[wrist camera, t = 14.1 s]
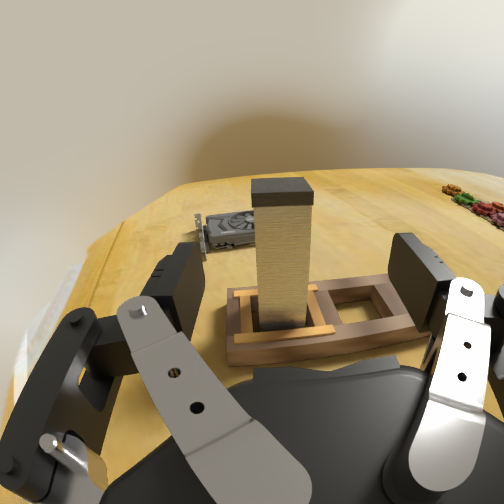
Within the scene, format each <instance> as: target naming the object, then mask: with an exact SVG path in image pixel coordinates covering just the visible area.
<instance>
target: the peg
mask: <svg viewBox="0 0 504 504" xmlns="http://www.w3.org/2000/svg"><path fill="white" fill-rule="evenodd" d="M251 199H252V208H254V227H255V245H256V264H257V283H258V303H259V323H260V332H268V331H279V330H289V329H299V328H305V322H306V309H307V296H308V280H309V263H310V242H311V213H312V205H313V200H314V191H313V190H312V188H311V187H310V186H309V184H308V183H307V181H306V180H305V179H304V177H287V178H260V179H251Z"/></svg>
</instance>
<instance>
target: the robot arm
mask: <svg viewBox="0 0 504 504" xmlns="http://www.w3.org/2000/svg"><path fill="white" fill-rule="evenodd" d="M388 276H389V280H390V282H391V283H392V285H393V287H394V288H395V290H396V292H397V294H398V295H399V297H400V299H401V301H402V302H403V304H404V306H405V308H406V310H407V311H408V313H409V315H410V317H411V319H412V321H413V322H414V324H415V326H416V328H417V330H418V332H419V333H424V332H429V331H431V333H432V334H431V337H430V339H429V341H428V345H427V348H426V351H425V354H424V358H423V361H422V364H421V366H420V369H418V368H414V367H410V366H404V365H399V362H398V360H397V357H396V355H393V356H387V357H380V358H373V359H366V360H362V361H359V362H357V363H354V364H351V365H348V366H345V367H343V368H340V369H337V370H334V371H319V370H311V369H303V368H296V367H275V368H254V373H253V379H250V380H246V381H243V382H240V383H237V384H235V385H233V386H231V387H229V388H227V389H226V388H225V387H224V386H223V384H222V383H221V382H220V381H219V379H218V378H217V377H216V376H215V374H214V373H213V372H212V371H211V369H210V368H209V367H208V365H207V364H206V363H205V362H204V360H203V359H202V358H201V356H200V355H199V354H198V352H197V351H196V350H195V348H194V347H193V346H192V344H191V343H190V341H191V337H192V333H193V330H194V326H195V322H196V318H197V315H198V311H199V307H200V304H201V300H202V297H203V293H204V289H205V275H204V269H203V264H202V259H201V253H200V248H199V244H198V242H181V243H178V245H177V247H176V248H175V250H174V252H173V254H172V255H167V256H165V257H164V258H163V259H162V260H160V261H159V262H158V264H157V266H156V267H155V269H154V271H153V272H152V274H151V277H150V278H149V280H148V281H147V283H146V285H145V287H144V288H143V290H142V292H141V294H140V296H137V297H134V298H131V299H129V300H127V301H125V302H124V303H123V304H122V305H121V306H120V307H119V308H118V310H117V315H113V316H108V317H103V318H98V319H97V317H96V315H95V313H94V311H93V310H92V309H90V308H86V307H83V308H78V309H75V310H73V311H71V312H70V313H68V314H67V315H66V316H65V317H64V318H63V319H62V321H61V322H60V324H59V326H58V327H57V329H56V330H55V332H54V334H53V335H52V337H51V339H50V340H49V342H48V344H47V345H46V347H45V349H44V351H43V352H42V354H41V356H40V358H39V360H38V361H37V363H36V365H35V367H34V369H33V371H32V372H31V374H30V376H29V378H28V380H27V382H26V384H25V386H24V388H23V390H22V392H21V394H20V396H19V398H18V400H17V402H16V405H15V407H14V409H13V411H12V413H11V416H10V418H9V420H8V423H7V425H6V427H5V430H4V432H3V435H2V437H1V440H0V484H1V485H2V486H3V487H4V488H6V489H8V490H9V491H11V492H13V493H15V494H17V495H18V496H20V497H22V498H23V499H24V500H26V501H28V502H30V503H32V504H504V423H503V422H502V421H500V420H499V419H497V418H496V417H494V416H493V415H491V414H490V413H488V412H487V411H485V410H484V409H483V403H484V397H485V391H486V383H487V379H488V381H489V383H490V385H491V388H492V390H493V392H494V395H495V397H496V399H497V402H498V404H499V407H500V410H501V412H502V415H503V417H504V284H502V285H500V287H499V289H498V291H497V294H496V296H495V295H487V294H484V293H483V290H482V288H481V287H480V286H479V285H478V284H476V283H475V282H473V281H471V280H469V279H466V278H457V277H456V276H455V275H454V273H453V272H452V271H451V270H450V269H449V268H448V266H447V265H446V264H445V263H443V261H442V260H441V258H440V257H438V255H437V254H436V253H435V252H434V251H433V250H432V249H431V248H429V247H428V246H426V245H424V244H423V243H422V242H421V241H420V240H419V239H418V238H417V237H416V236H415V235H414V234H413V233H396V234H395V235H394V237H393V241H392V247H391V253H390V259H389V264H388ZM83 367H85V368H86V371H85V373H84V375H83V378H82V380H81V382H80V385H78V380H79V376H80V374H81V371H82V369H83ZM136 373H140V375H141V378H142V380H143V382H144V384H145V386H146V388H147V390H148V392H149V394H150V396H151V398H152V400H153V402H154V404H155V406H156V407H157V409H158V411H159V413H160V415H161V417H162V419H163V420H164V422H165V424H166V426H167V427H168V429H169V431H170V433H171V434H172V435H171V436H170V437H169V438H168V439H167V440H165V441H164V442H163V443H162V444H161V445H159V446H158V447H157V448H156V449H154V450H153V451H152V452H151V453H149V454H148V455H147V456H146V457H144V458H143V459H142V460H141V461H139V462H138V463H137V464H136V465H134V466H133V467H132V468H130V469H129V470H128V471H126V472H125V473H124V474H122V475H121V476H120V477H118V478H117V479H116V480H115V481H113V482H112V483H111V484H110V485H109V486H108V477H107V467H106V464H105V462H104V461H103V459H102V458H101V457H100V454H101V450H102V446H103V442H104V439H105V435H106V431H107V428H108V424H109V421H110V417H111V414H112V410H113V407H114V404H115V401H116V397H117V394H118V391H119V388H120V385H121V382H122V379H123V376H124V375H130V374H136Z"/></svg>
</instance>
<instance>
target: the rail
mask: <svg viewBox="0 0 504 504" xmlns="http://www.w3.org/2000/svg"><path fill="white" fill-rule="evenodd" d="M370 299H371V301H372V303H373V304H374V306H375V308H376V309H377V311H378V313H379V314H380V316H381V319H375V320H369V321H363V322H357V323H350V324H342V321H341V319H340V317H339V315H338V312H337V310H336V308H335V306H334V304H339V303H347V302H355V301H362V300H370ZM251 312H259V303H258V286H254V287H240V288H227V325H226V354H227V360H228V365H229V366H245V365H259V364H270V363H281V362H290V361H299V360H307V359H314V358H321V357H328V356H335V355H341V354H347V353H353V352H358V351H364V350H369V349H374V348H379V347H384V346H388V345H393V344H397V343H402V342H406V341H410V340H414V339H418V338H422V337H426V336H429V335H431V334H432V333H431V331H429V332H424V333H419V332H418V330H417V328H416V326H415V324H414V322H413V321H412V319H411V317H410V315H409V313H408V311H407V310H406V308H405V306H404V304H403V302H402V301H401V299H400V297H399V295H398V294H397V292H396V290H395V288H394V287H393V285H392V283H391V282H390V280H389V276H388V274H380V275H371V276H362V277H353V278H343V279H334V280H323V281H313V282H308V296H307V309H306V322H307V325H308V328H299V329H289V330H279V331H268V332H256V333H253V327H252V315H251Z"/></svg>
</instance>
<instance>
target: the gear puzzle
mask: <svg viewBox="0 0 504 504" xmlns="http://www.w3.org/2000/svg"><path fill="white" fill-rule="evenodd" d="M442 191H445V192H446V193H447V194H452V195H453V196H455V197H453V198H451V200H452V201H454V202H456V203H457V202H458V203H460V204H461V206H463V207H465V208H467V209H469V210H470V211H472V212H473V213H475V212H476V213H478V214H480V215H479V216H480V217H482V218H484V219H486V220H487V221H488V222H490V223H492V224H493V225H494V224H496V225H498V226H499V229H501V230H502V231H504V205H503V204H500V203H498V202H493V203H489V202H488V201H484V200H482V199H480V198H473V196H471V195H470V194H469V193H465V192H464V191H462V190H461V188H460V187H458V186H455V185H452V184H450V185H449V184H448V186H442Z"/></svg>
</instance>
